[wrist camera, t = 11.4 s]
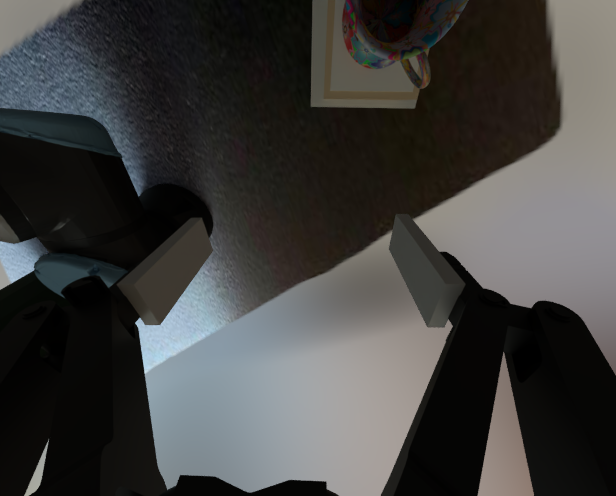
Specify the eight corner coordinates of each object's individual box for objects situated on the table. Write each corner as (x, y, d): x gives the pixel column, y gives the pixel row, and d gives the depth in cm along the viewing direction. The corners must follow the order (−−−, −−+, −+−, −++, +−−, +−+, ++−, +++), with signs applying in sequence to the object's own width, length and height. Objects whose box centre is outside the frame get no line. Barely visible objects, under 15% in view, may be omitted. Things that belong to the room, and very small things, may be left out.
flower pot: (127, 257, 56) (-14, 366, 32) (158, 319, 70) (74, 427, 47) (32, 247, 56) (-175, 349, 33) (82, 311, 70) (-39, 414, 47)
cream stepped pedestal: (311, 106, 35) (308, 107, 29) (313, -27, 27) (310, -64, 21) (412, 108, 34) (430, 109, 28) (444, -29, 26) (479, -68, 20)
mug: (323, 0, 23) (322, -63, 15) (410, -75, 20) (475, -211, 12) (365, 113, 29) (383, 117, 20) (439, 67, 26) (498, 48, 17)
